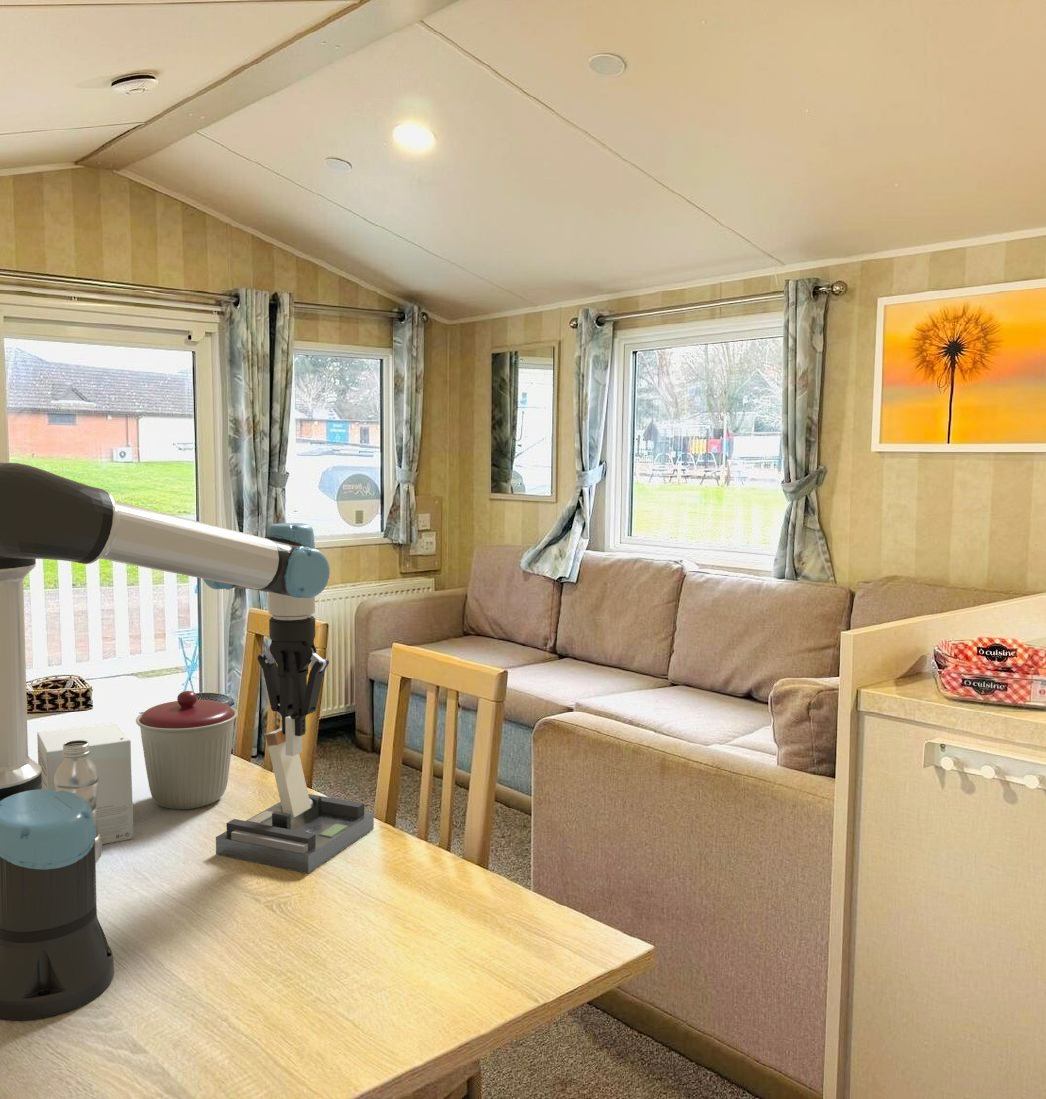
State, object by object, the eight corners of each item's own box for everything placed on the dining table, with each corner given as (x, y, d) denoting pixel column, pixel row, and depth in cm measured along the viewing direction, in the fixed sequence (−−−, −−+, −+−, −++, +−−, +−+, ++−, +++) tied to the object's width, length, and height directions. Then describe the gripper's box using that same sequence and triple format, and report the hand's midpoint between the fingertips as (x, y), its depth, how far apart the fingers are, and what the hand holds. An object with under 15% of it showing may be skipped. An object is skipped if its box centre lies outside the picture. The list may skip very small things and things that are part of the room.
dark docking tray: (303, 853, 155) (303, 841, 155) (221, 837, 161) (221, 825, 160) (364, 814, 172) (364, 803, 171) (287, 800, 178) (287, 790, 177)
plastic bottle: (86, 875, 153) (82, 751, 150) (47, 871, 154) (43, 747, 152) (111, 859, 159) (107, 739, 157) (74, 854, 160) (70, 736, 158)
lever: (290, 821, 163) (271, 734, 163) (280, 822, 164) (261, 736, 163) (315, 806, 169) (296, 723, 169) (305, 808, 170) (286, 725, 170)
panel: (308, 873, 154) (308, 834, 154) (216, 854, 161) (215, 816, 160) (373, 828, 173) (373, 793, 172) (288, 813, 180) (288, 778, 179)
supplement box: (119, 814, 178) (117, 720, 176) (134, 839, 167) (132, 739, 165) (39, 828, 171) (35, 731, 169) (49, 855, 160) (45, 751, 158)
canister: (243, 810, 181) (241, 699, 178) (138, 823, 174) (135, 707, 172) (234, 779, 197) (232, 677, 195) (137, 789, 191) (135, 683, 188)
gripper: (337, 615, 164) (339, 752, 167) (273, 609, 169) (275, 742, 172) (312, 622, 157) (313, 764, 160) (246, 616, 162) (248, 754, 165)
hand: (294, 753), depth 166 cm, fingers closed
